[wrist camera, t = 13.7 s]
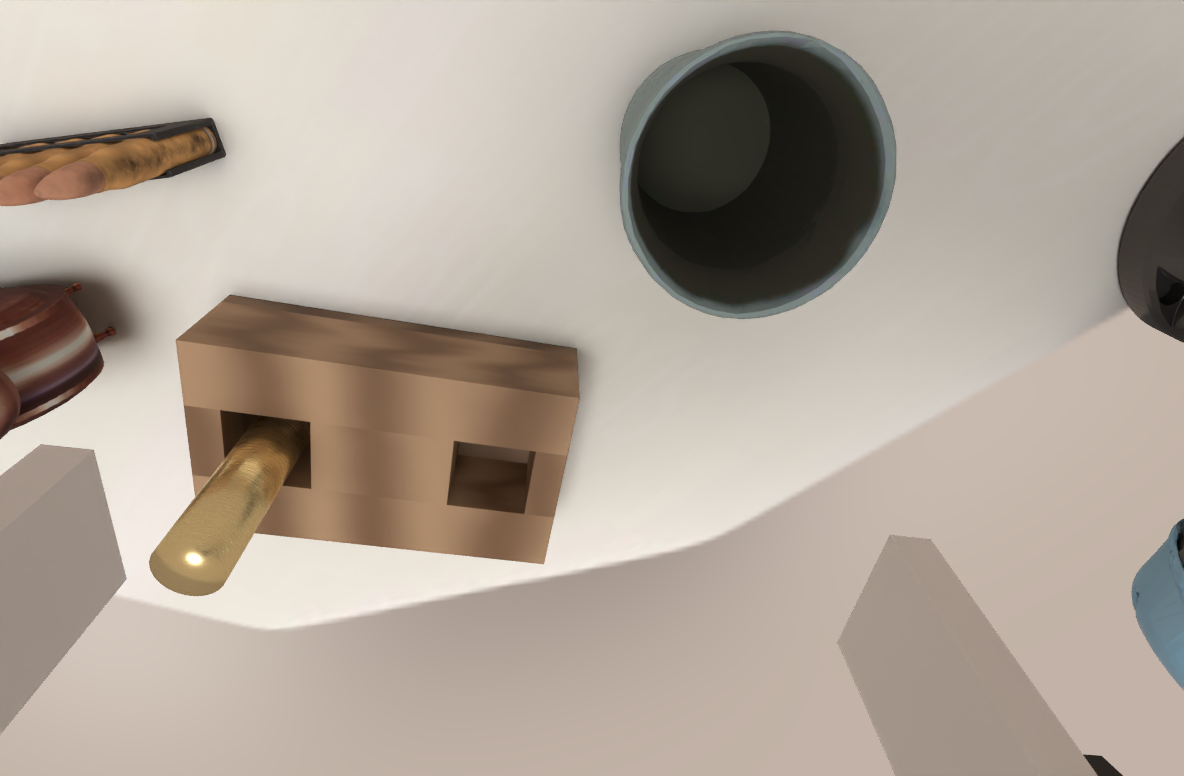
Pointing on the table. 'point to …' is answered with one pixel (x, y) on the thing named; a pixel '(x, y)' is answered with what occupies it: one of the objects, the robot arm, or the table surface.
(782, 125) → the grey-green cup
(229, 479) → the brass pin
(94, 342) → the alarm clock
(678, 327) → the table surface
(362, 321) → the walnut hole block
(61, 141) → the ammunition clip
